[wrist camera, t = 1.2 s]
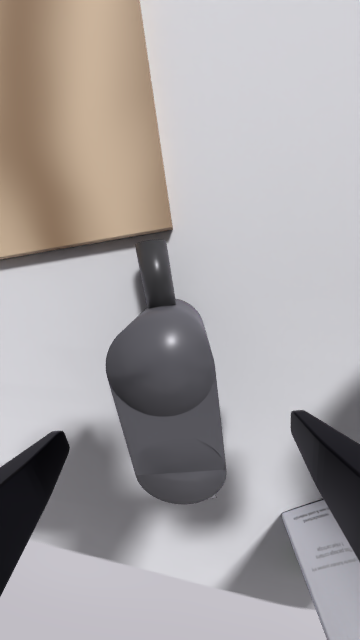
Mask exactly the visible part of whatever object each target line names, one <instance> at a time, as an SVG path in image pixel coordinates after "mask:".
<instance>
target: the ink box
mask: <svg viewBox="0 0 360 640" xmlns="http://www.w3.org/2000/svg"><path fill="white" fill-rule="evenodd" d="M282 519H283V522H284V525H285V527H286V530H287V533H288V535H289V538H290V541H291V544H292V547H293V549H294V552H295V555H296V557H297V560H298V563H299V565H300V568H301V571H302V573H303V576H304V579H305V582H306V584H307V587H308V590H309V592H310V595H311V598H312V600H313V603H314V606H315V608H316V611H317V614H318V616H319V619H320V622H321V625H322V627H323V630H324V633H325V635H326V638H327V640H360V562H359V560H358V558H357V557H356V555H355V553H354V551H353V550H352V548H351V546H350V544H349V543H348V541H347V539H346V537H345V536H344V534H343V532H342V530H341V529H340V527H339V525H338V523H337V522H336V520H335V518H334V516H333V515H332V513H331V511H330V509H329V508H328V506H327V504H326V502H325V501H324V500H321V501H318V502H315V503H312V504H309V505H305V506H302V507H299V508H296V509H293V510H290V511H287V512H284V513H282Z"/></svg>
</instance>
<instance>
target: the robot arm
mask: <svg viewBox="0 0 360 640" xmlns="http://www.w3.org/2000/svg"><path fill="white" fill-rule="evenodd" d="M291 433H292V435H293V438H294V440H295V442H296V444H297V446H298V448H299V451H300V453H301V455H302V457H303V459H304V461H305V463H306V465H307V468H308V470H309V472H310V474H311V476H312V478H313V480H314V482H315V484H316V486H317V488H318V490H319V492H320V494H321V495H322V497H323V499H324V501H325V502H326V504H327V506H328V508H329V509H330V511H331V513H332V515H333V516H334V518H335V520H336V522H337V523H338V525H339V527H340V529H341V530H342V532H343V534H344V536H345V537H346V539H347V541H348V543H349V544H350V546H351V548H352V550H353V551H354V553H355V555H356V557H357V558H358V560H359V562H360V444H358V443H357V442H355V441H353V440H352V439H350V438H349V437H347V436H345V435H344V434H342V433H340V432H339V431H337V430H335V429H334V428H332V427H331V426H329V425H327V424H326V423H324V422H322V421H321V420H319V419H318V418H316V417H314V416H313V415H311V414H309V413H308V412H306V411H304V410H297V411H292V412H291ZM69 449H70V447H69V443H68V441H67V438H66V436H65V433H64V432H63V431H53V432H51V433H49V434H48V435H46V436H45V437H43V438H42V439H41V440H39V441H38V442H36V443H35V444H33V445H32V446H31V447H29V448H28V449H26V450H25V451H23V452H22V453H20V454H19V455H18V456H16V457H15V458H13V459H12V460H10V461H9V462H8V463H6V464H5V465H3V466H2V467H0V596H1V594H2V592H3V590H4V588H5V586H6V584H7V582H8V580H9V578H10V576H11V574H12V572H13V570H14V568H15V566H16V564H17V562H18V560H19V558H20V556H21V555H22V552H23V551H24V548H25V546H26V545H27V543H28V541H29V539H30V537H31V535H32V533H33V531H34V529H35V527H36V525H37V523H38V521H39V519H40V517H41V515H42V513H43V511H44V509H45V507H46V505H47V503H48V500H49V498H50V496H51V494H52V491H53V489H54V487H55V484H56V482H57V479H58V477H59V475H60V472H61V470H62V468H63V465H64V463H65V460H66V458H67V456H68V453H69Z"/></svg>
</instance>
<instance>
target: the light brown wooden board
mask: <svg viewBox="0 0 360 640" xmlns="http://www.w3.org/2000/svg"><path fill="white" fill-rule="evenodd" d="M168 230H173V227H172V220H171V213H170V207H169V200H168V193H167V186H166V179H165V172H164V165H163V159H162V152H161V145H160V138H159V131H158V124H157V117H156V110H155V104H154V97H153V90H152V83H151V76H150V69H149V62H148V56H147V49H146V42H145V35H144V28H143V21H142V14H141V8H140V1H139V0H0V260H1V259H6V258H12V257H18V256H24V255H29V254H35V253H41V252H47V251H52V250H58V249H64V248H70V247H75V246H81V245H87V244H93V243H98V242H104V241H110V240H116V239H121V238H127V237H133V236H139V235H145V234H150V233H156V232H162V231H168Z"/></svg>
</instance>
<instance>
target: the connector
mask: <svg viewBox="0 0 360 640" xmlns="http://www.w3.org/2000/svg"><path fill="white" fill-rule="evenodd" d="M135 248H136V253H137V258H138V263H139V268H140V273H141V278H142V283H143V288H144V293H145V298H146V303H147V308H146V309H145V310H144V311H143V312H142V313H141V314H140V315H139V316H138V317H137V318H136V319H135V320H134V321H132V322H131V323H130V324H129V325H128V326H127V327H126V328H125V329H124V330H123V331H122V332H121V333H120V334H119V335H118V336H117V337H116V338H115V339H114V341H113V342H112V344H111V346H110V348H109V350H108V353H107V358H106V373H107V378H108V381H109V385H110V388H111V392H112V395H113V398H114V402H115V405H116V409H117V412H118V416H119V419H120V423H121V426H122V430H123V433H124V437H125V440H126V444H127V447H128V450H129V454H130V457H131V461H132V464H133V468H134V471H135V475H136V478H137V480H138V482H139V484H140V485H141V486H142V488H143V489H144V490H145V491H147V492H148V493H149V494H150V495H152V496H154V497H155V498H157V499H160V500H162V501H165V502H169V503H174V504H193V503H198V502H201V501H204V500H206V499H208V498H216V493H217V492H218V491H219V490H220V489H221V487H222V486H223V484H224V482H225V479H226V463H225V454H224V445H223V436H222V427H221V418H220V408H219V399H218V390H217V381H216V372H215V364H214V359H213V355H212V352H211V348H210V345H209V341H208V338H207V334H206V331H205V327H204V324H203V321H202V318H201V316H200V314H199V313H198V311H197V310H196V309H195V308H194V307H193V306H191V305H190V304H188V303H187V302H185V301H182V300H179V299H175V295H174V288H173V282H172V276H171V269H170V263H169V256H168V250H167V244H166V240H162V239H158V240H148V241H143V242H139V243H137V244H135Z"/></svg>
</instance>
